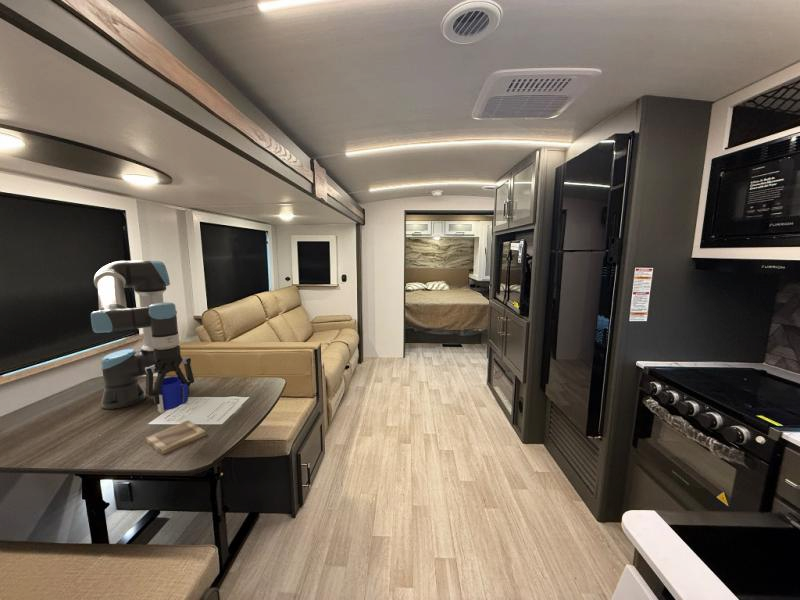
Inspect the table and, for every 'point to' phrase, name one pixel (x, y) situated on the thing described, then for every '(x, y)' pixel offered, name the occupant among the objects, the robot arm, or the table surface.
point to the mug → (173, 392)
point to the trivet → (175, 436)
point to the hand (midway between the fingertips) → (173, 407)
